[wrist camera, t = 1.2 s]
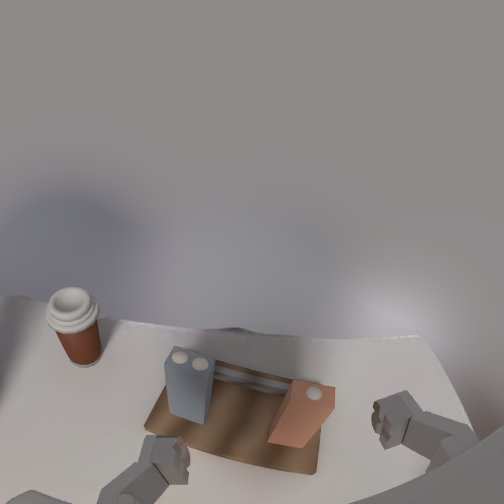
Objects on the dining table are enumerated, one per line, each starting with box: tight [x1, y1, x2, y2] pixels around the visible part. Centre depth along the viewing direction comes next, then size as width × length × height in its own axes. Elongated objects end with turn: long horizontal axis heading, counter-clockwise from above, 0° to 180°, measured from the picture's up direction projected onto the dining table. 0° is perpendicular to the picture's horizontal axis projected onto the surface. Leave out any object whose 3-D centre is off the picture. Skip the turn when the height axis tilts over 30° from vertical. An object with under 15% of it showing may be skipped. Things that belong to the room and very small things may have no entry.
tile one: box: [267, 379, 335, 448], centre depth 31 cm, size 5×3×12 cm, turn 77°
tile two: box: [164, 346, 216, 425], centre depth 33 cm, size 5×3×12 cm, turn 77°
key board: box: [144, 360, 321, 475], centre depth 37 cm, size 24×16×4 cm, turn 77°
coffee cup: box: [45, 287, 102, 367], centre depth 38 cm, size 9×9×12 cm
